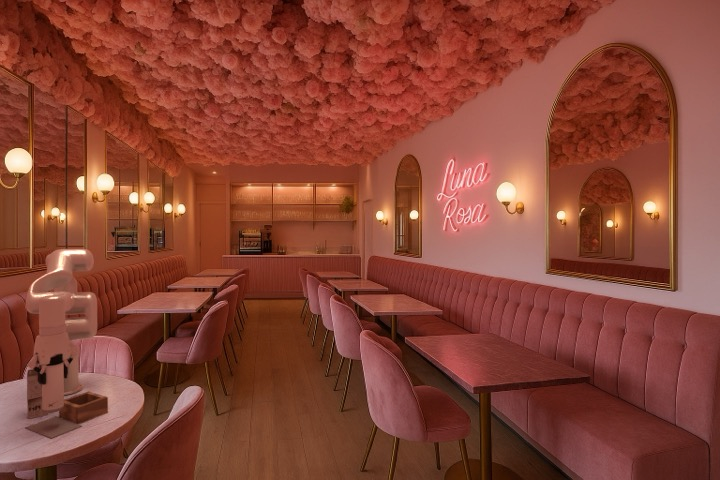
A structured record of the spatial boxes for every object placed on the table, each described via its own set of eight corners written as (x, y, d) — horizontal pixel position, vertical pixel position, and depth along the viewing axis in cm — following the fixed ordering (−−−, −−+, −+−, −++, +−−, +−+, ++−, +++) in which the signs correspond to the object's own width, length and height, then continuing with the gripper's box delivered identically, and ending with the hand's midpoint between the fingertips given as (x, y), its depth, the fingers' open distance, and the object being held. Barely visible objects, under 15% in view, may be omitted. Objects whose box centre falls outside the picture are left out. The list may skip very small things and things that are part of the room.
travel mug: (53, 414, 148) (52, 357, 147) (37, 412, 149) (37, 355, 148) (69, 407, 154) (68, 352, 153) (53, 405, 155) (53, 350, 155)
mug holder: (59, 417, 160) (58, 401, 160) (88, 406, 170) (88, 391, 169) (78, 424, 154) (78, 407, 154) (107, 412, 164) (107, 397, 164)
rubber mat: (25, 428, 151) (25, 427, 151) (56, 417, 160) (56, 416, 160) (51, 439, 144) (51, 437, 144) (81, 426, 153) (81, 425, 153)
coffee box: (48, 414, 162) (48, 373, 161) (27, 419, 158) (26, 376, 157) (48, 406, 169) (47, 366, 168) (27, 410, 165) (27, 369, 165)
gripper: (72, 324, 160) (72, 371, 161) (18, 334, 144) (19, 386, 145) (84, 326, 157) (84, 374, 157) (30, 337, 141) (31, 390, 142)
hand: (53, 380), depth 151 cm, fingers closed on travel mug, 6 cm apart
